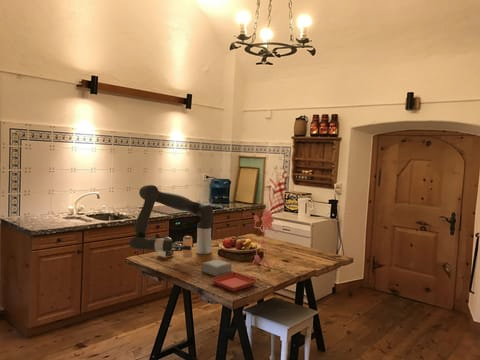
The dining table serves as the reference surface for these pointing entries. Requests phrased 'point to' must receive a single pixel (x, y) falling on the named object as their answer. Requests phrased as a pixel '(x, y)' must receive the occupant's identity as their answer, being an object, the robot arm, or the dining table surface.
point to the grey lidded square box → (216, 267)
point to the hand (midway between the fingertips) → (191, 246)
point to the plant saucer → (233, 281)
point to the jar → (187, 242)
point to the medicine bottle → (165, 254)
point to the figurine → (267, 222)
